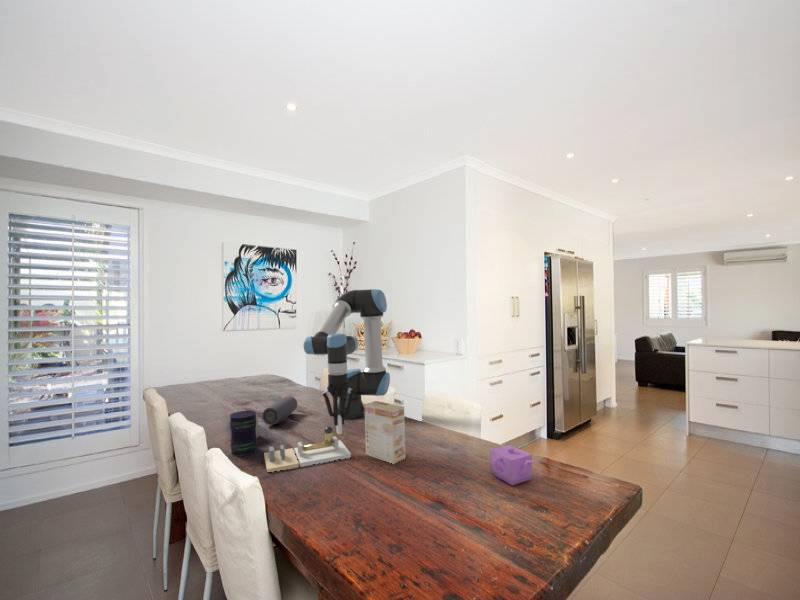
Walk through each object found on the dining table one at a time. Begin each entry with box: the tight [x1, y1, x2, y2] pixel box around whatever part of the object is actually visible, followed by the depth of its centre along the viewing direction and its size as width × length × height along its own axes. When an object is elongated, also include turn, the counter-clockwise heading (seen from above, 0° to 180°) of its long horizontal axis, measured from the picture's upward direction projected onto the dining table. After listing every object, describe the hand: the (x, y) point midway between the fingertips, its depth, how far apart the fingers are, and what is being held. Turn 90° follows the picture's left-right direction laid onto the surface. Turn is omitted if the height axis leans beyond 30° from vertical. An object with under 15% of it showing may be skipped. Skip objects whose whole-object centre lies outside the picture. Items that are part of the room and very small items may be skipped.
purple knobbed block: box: [489, 444, 534, 486], centre depth 127 cm, size 18×14×10 cm
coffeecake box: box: [364, 400, 406, 465], centre depth 148 cm, size 15×7×20 cm, turn 47°
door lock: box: [263, 435, 352, 473], centre depth 150 cm, size 30×16×6 cm, turn 113°
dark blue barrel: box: [229, 410, 258, 457], centre depth 158 cm, size 10×10×15 cm
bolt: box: [303, 426, 335, 451], centre depth 152 cm, size 15×3×8 cm, turn 113°
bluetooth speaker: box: [261, 395, 298, 426], centre depth 198 cm, size 23×9×10 cm, turn 172°
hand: (339, 432), depth 155 cm, fingers closed
